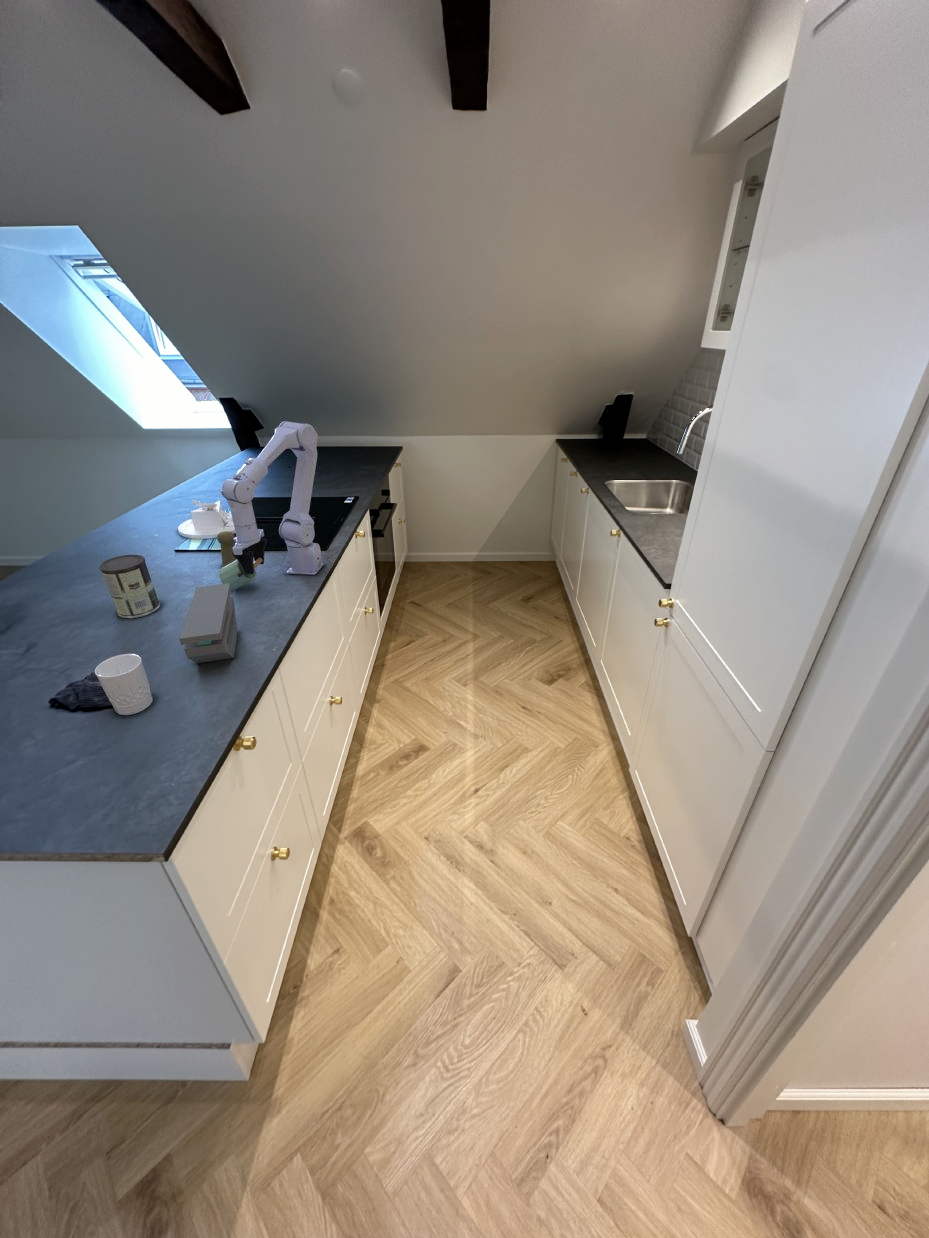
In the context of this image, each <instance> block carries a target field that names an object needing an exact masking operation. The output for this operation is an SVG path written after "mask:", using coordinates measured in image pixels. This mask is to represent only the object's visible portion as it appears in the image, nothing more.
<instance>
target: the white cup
mask: <svg viewBox="0 0 929 1238" xmlns="http://www.w3.org/2000/svg"><path fill="white" fill-rule="evenodd" d="M144 666H145V665H144V663H143V660H142V657H141V656H140V655H138V654H136V653H125V654H124V653H123V654H117V655H115V656H111V657H109V658H107V659H105V660H103V661H102V662H100V663H99V664H98V665H97V666H96V667H95V669H94V674H95V676H96V678H97V680H98V682H99V684H100V685H101V688H102V690H103V691H104V693H105V695H106V697H107V699H108V701H109V702H110V703H111V705H112V708H113V709H114V711H115V713H116V714H118V715H121V716H130V715H135V714H137V713H138V714H139V713H140V712H143V711H144V710H146V709H147V708H148V707H150V706H151V705H152V703H153V702H154V700H153V695H152V692H151V687H150V683H149V678H148V676H147V673H146V669H145V667H144Z"/></svg>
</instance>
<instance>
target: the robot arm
mask: <svg viewBox="0 0 929 1238" xmlns="http://www.w3.org/2000/svg"><path fill="white" fill-rule="evenodd" d="M318 440H319V435H318V433H317V431H316V430H315V428H314V426H312V425H311V424H309V423H300V422H294V421H293V422H292V421H288V420H284V421H282V422H280V423H279V425H278V426H277V427H276V428H274V435H272V437H271V439H270V440H269V441H268V442H267V444H266V445H265V447H264V448H263V449H262V450H261V452H260V453H258V455H257V457H250V458H249V459H245V461H244V464H243V465H242V466H241V468H240V469H239V470H238V471H237V472H235V473H234V474H233V477H231V478H228V479H226V480H225V481H223V483H222V486H221V490H220V494H221V496H222V497H223V499H225V500H226V501H227V505H228V507H229V510H230V513H231V515H232V519H233V524H234V528H235V532H236V533H235V538H234V543H235V546H234V547H233V551H232V554H233V556H234V557H235V558H236V559H237V560H238V561H239V562H240V564H241V565H242V567H243V569H244V571H245V573H246V574H253V573H254V565H253V563H254V562H255V561H256V560H257V559H258V558H262V560H263V561H262V562H261V563H260V564H259V565H264V564H265V552H266V546H267V543H268V539H267V538H265V532H264V529H262V528H261V529H260V528H258V525H257V521H256V516H255V512H254V507H253V503H252V500H253V499H254V497H255V491H256V490H257V487H258V486H259V485H260V484H261V482H262V481H263V480H264V479H265V478H266V476H268V474H269V469H268V467H269V466H270V465H271V464H272V463H273V462H274V461H275V460H276V459H277V458H278V457H279V456H280V455H282V453H284V451H285V450H291V451H292V452H293V454H294V455H295V457H296V465H295V472H294V479H293V487H292V493H291V500H290V506H289V510H288V511H287V512H286V513H284V514H283V516H282V520H281V523H280V524H279V527H278V534H279V536H280V538H281V539H282V540H284V543H285V544H286V549H287V554H288V559H289V566H290V567H289V568H288V570H287V571H286V574H288V575H290V574H291V575H292V574H293V575H308V576H309V575H310V576H312V575H313V576H315V575H317V574H318V572H319V571H320V570H321V569H322V568H323V566H324V563H323V557H322V551H321V547H320V544H319V543H316V542H313V541H314V539H315V536H316V535H315V533H316V532H315V521H314V519H313V518H312V517H311V515H310V514H309V513H310V508H311V502H312V501H311V500H312V494H313V487H314V481H315V476H316V475H315V474H316V467H317V461H318V449H317V446H318ZM263 537H264V538H263ZM248 548H249V549H248Z"/></svg>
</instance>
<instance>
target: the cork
mask: <svg viewBox="0 0 929 1238" xmlns="http://www.w3.org/2000/svg"><path fill="white" fill-rule="evenodd" d="M235 537H236V534H235V533H234V534H233V533H232V532H229V531H225V532H221V533H219V534H218V535H217V538H216V540H217V542H218V543H219V544H220V545H219V546H220V554H221V565H222V568H223V567H225V566H227V565H228V564H230V563H232V562H234V561H236V560H237V559H236V558H235V557H234V556H233V554H232V551H233V547H234V546H235V543H236V542H235V541H234V538H235Z"/></svg>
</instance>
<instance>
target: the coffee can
mask: <svg viewBox="0 0 929 1238" xmlns="http://www.w3.org/2000/svg"><path fill="white" fill-rule="evenodd" d="M98 569H99V570H100V572H101V574H102V577H103V579H104V582H105V585H106V587H107V589H108V591H109V592H108V593H109V595H110V596H111V600H112V602H113V605H114V607H115V610H116V612H117V615H118V616H119V617H120V618H123V619H137V618H141V617H146V616H148V615H151V614H152V613H155V612H156V611H158V610H159V608H160V607H161V602H160V601H159V598H158V595H157V593H156V589H155V587H154V583H153V581H152V578H151V574H150V571H149V569H148V566H147V563H146V558H145V557H144V556H143V555H142V554H141V555H140V554H123V555H118V556H114V557H111V558H108V559H106V560H105V561H102V562H101V563H99V565H98Z"/></svg>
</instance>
